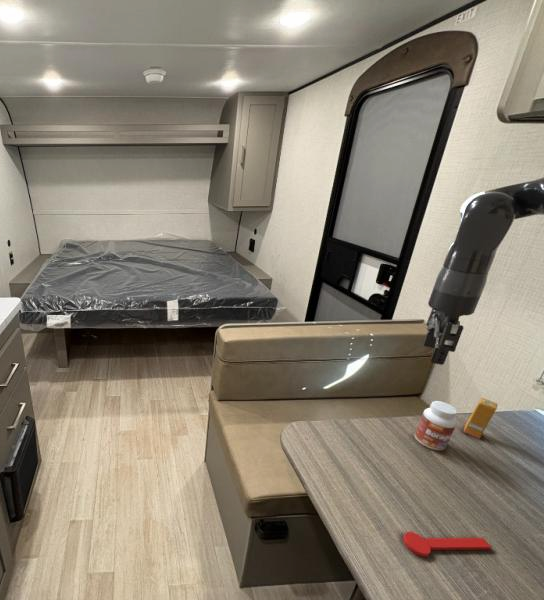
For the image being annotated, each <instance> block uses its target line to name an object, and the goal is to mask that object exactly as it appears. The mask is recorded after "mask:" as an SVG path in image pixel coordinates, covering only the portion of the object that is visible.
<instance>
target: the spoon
mask: <svg viewBox="0 0 544 600" xmlns="http://www.w3.org/2000/svg"><path fill="white" fill-rule="evenodd" d="M402 541H403V543H404V544H405V546H406V547H407V548H408V549H409V550H410V551H411V552H412V553H413V554H415V555H416V556H419V557H423V558H424V557H425V558H426V557H428V556H430V554H431V552H432V551H456V550H458V551H461V550H463V551H464V550H467V551H468V550H472V551H473V550H474V551H475V550H479V551H480V550H492V546H491V544H490V543H488V542H487V540H486V539H485V538H484V537H445V538H444V537H443V538H442V537H440V538H439V537H438V538H437V537H435V538H433V537H432V538H431V537H430V538H427V537H425V538H424V537H423V536H421V535H419V534H418V533H417V532H413V531H407V532H405V533H404V535H403V539H402Z"/></svg>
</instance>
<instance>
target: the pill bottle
mask: <svg viewBox="0 0 544 600" xmlns="http://www.w3.org/2000/svg"><path fill="white" fill-rule="evenodd" d="M457 414H458V410H457V408H455V407H454V406H453V405H451V404H449V403H447V402H444V401H440V400H434V401H432V402H431V403H430V404H429V407H426V408H425V409H424V410H423V411H422V415H421V417H420V420H419V421H418V424H417V427H416V429H415V431H414V438H415V439H416V441H417V442H418V443H419V444H421V445H422V446H424V447H426V448H428V449H430V450H434V451H443V450H445V449H446V448H447V445H448V444H449V442H450V439H451V437H452V435H453V433H454V431H455V429H456V427H457V425H458V422H457V419H456V417H457Z"/></svg>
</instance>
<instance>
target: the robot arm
mask: <svg viewBox="0 0 544 600" xmlns="http://www.w3.org/2000/svg"><path fill="white" fill-rule="evenodd" d="M459 214H460V217H461V221H460V224H459V227H458V229H457V233H456V236H455V239H454V241H453V242H452V243H451V245H450V246H449V248H448V250H447V252H446V256H445V259H444V261H443V264H442V267H441V269H440V270H439V273H438V275H437V276H436V280H435V282H434V285H433V288H432V291H431V294H430V297H429V299H428V302H427V305H428V306H429V307H430V308H431V310H430V313H429V316H428V318H427V322H425V325H426V331H427V332H426V335H425V338H424V341H423V346H424V347H426V348H431V349H433V351H432V354H431V356H430V363H432V364H435V365H440V366H442V365H445V363H446V360H447V357H448V355H449V352H450V353H455V352H456V349H457V346H458V344H459V341H460V338H461V336H462V333H463V330H464V325H463V324H461V321H460V317H462V316H472V315H473V314H474V313H475V311H476V309H477V306H478V305H479V301H480V300H481V297H482V295H483V291H484V290H485V286H486V284H487V281H488V276H489V272H490V270H491V268H492V265H493V263H494V260H495V258H496V254H497V252H498V249H499V247H500V245H501V244H502V242H503V241H504V239H505V237H506V236H507V234H508V233H509V231H510V229H511V227H512V225H513V223H514V220H518V219H523V218H528V217H532V216H539V215H543V216H544V177H541V178H538V179H534V180H530V181H525V182H520V183H515V184H511V185H506V186H502V187H497V188H492V189H488V190H485V191H481V192H479V193H476V194H474V195H471V196H470V197H468V198H467V200H465V201H464V203H463V204H462V205H461V207H460V212H459ZM446 341H447V344H445V343H446Z"/></svg>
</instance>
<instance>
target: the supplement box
mask: <svg viewBox="0 0 544 600" xmlns="http://www.w3.org/2000/svg"><path fill="white" fill-rule="evenodd" d="M497 408H498V403H496V402H495V401H492V400H489V399H487V398H484V397H481V398H480V399H479V401H478V402H477V403H476V405H475V407H474V409H473V411H472V413H471V414H470V415H469V418H468V420H467V422H466V424H465V425H464V428H463V432H464V434H467V435H469V436H472V437H474V438H476V439H481V437H482V435H483V433H484V432H485V430H486V428H487V427H488V424H489V423H490V421H491V419H492V418H493V416H494V415H495V412H496V411H497Z"/></svg>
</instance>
